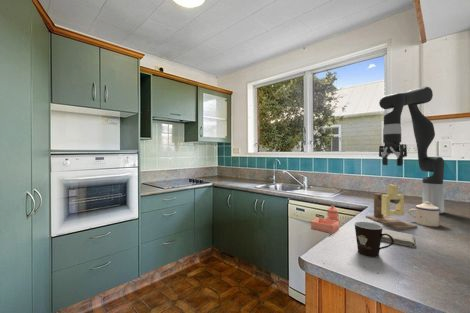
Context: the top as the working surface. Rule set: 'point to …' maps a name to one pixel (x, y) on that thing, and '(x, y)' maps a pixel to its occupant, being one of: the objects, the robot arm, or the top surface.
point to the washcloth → (399, 238)
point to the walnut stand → (385, 219)
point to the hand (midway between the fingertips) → (392, 165)
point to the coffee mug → (369, 238)
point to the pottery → (327, 222)
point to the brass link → (391, 196)
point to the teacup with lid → (426, 214)
